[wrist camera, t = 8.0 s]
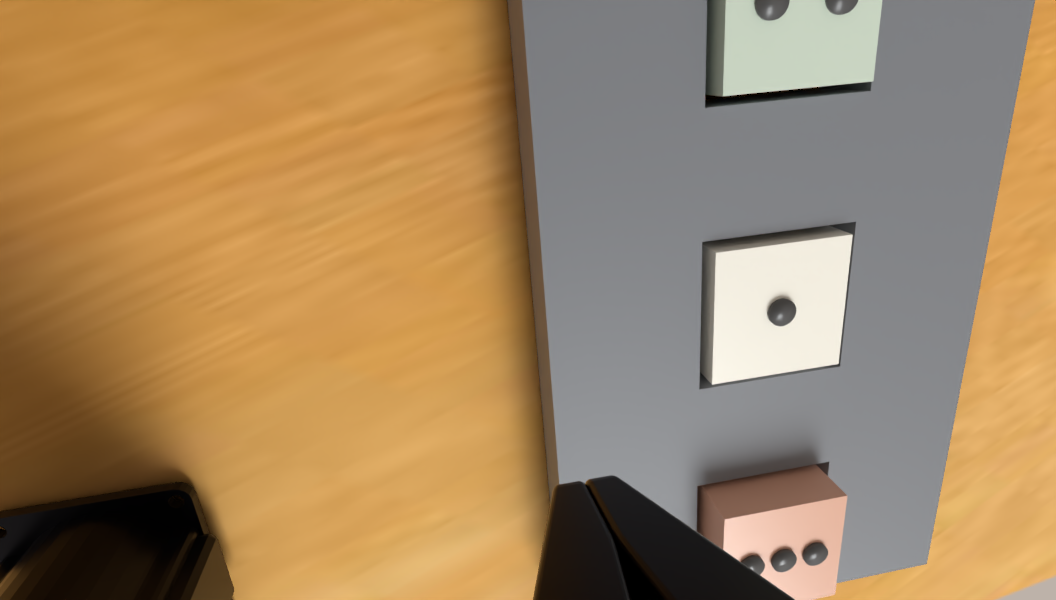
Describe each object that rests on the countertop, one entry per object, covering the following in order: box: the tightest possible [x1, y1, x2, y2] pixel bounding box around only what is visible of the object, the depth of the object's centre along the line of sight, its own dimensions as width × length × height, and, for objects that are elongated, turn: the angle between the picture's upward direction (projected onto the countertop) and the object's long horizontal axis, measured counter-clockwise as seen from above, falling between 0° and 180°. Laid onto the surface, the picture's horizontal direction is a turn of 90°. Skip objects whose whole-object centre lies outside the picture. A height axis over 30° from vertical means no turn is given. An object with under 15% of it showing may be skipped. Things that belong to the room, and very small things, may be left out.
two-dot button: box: [705, 0, 882, 96], centre depth 18 cm, size 4×4×3 cm
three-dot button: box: [697, 464, 847, 600], centre depth 23 cm, size 4×4×3 cm
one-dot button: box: [700, 225, 853, 385], centre depth 21 cm, size 4×4×3 cm
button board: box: [507, 0, 1035, 583], centre depth 21 cm, size 15×25×2 cm, turn 5°
